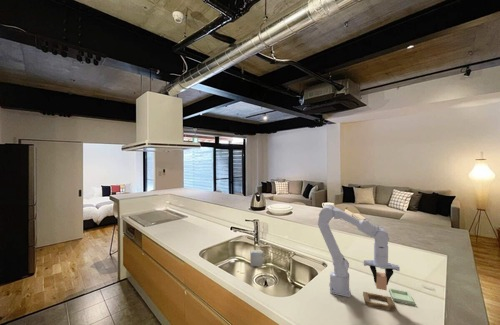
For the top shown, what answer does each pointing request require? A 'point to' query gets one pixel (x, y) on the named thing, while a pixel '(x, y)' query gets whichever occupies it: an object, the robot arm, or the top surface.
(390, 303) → the pocket board
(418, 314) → the top surface
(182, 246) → the top surface
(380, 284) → the block
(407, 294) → the tray
